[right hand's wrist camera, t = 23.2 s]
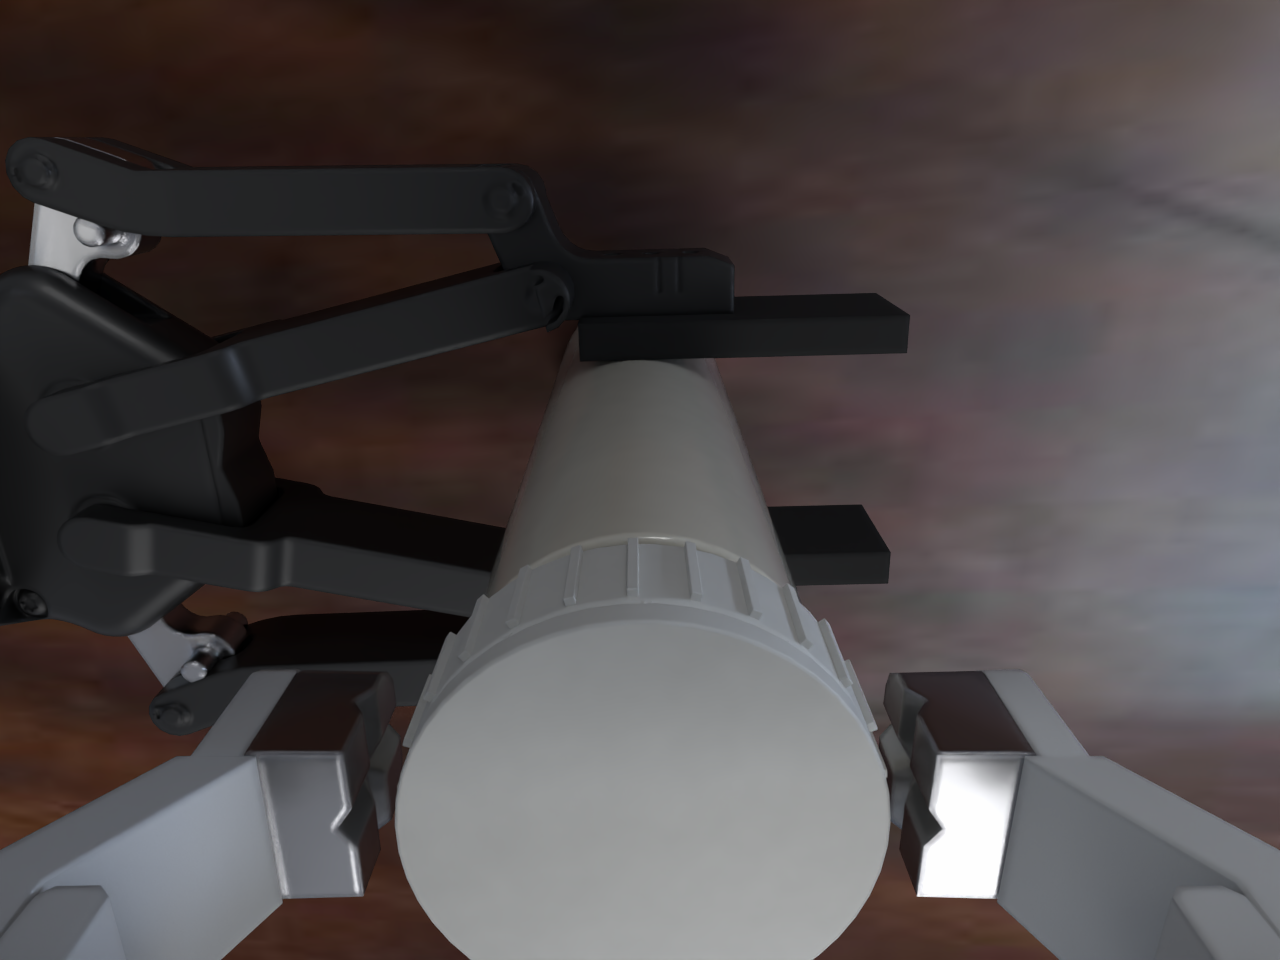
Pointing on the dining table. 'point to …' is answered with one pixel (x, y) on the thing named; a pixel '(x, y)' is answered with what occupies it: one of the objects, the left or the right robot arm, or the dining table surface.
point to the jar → (639, 469)
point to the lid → (642, 768)
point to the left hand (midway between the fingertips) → (879, 436)
